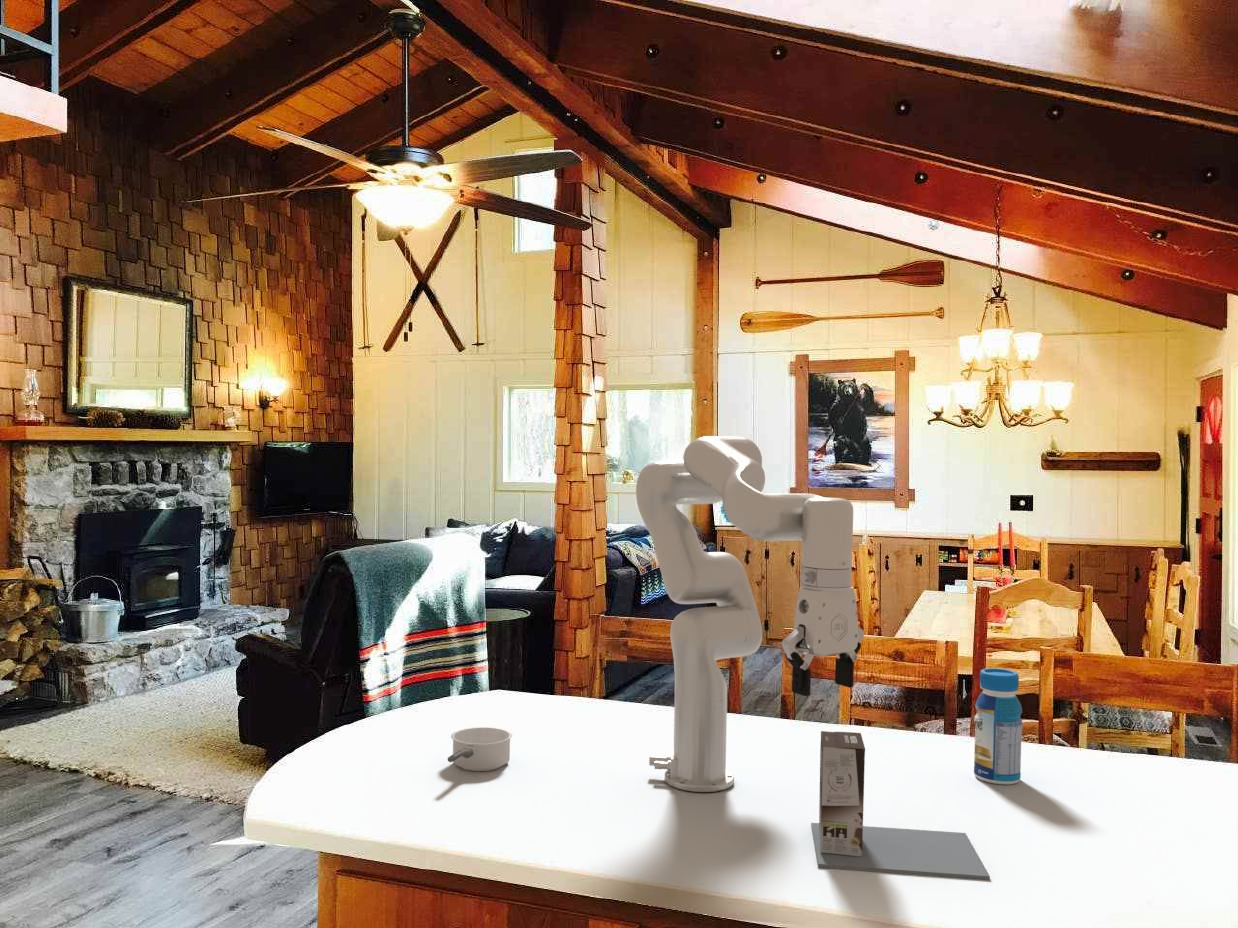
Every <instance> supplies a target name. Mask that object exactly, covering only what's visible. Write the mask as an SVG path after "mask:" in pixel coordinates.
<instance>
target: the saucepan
mask: <svg viewBox="0 0 1238 928" xmlns="http://www.w3.org/2000/svg"><path fill="white" fill-rule="evenodd" d="M450 737H451V739H452V754H451V755H449V756H448V757H447V762H449V763H453V764H454V765H456V766H458V767H460V768H461V769H463V770H466V771H473V772H486V771H493V770H496V769H499V768H501V767H503V766H504V765H506V764H507V763H509V762H510V760H511V757H510V754H511V753H510V752H511V751H510V749H511V748H510V747H511V738H512V737H513V734H512V732H510V731H509V730H507V729H503V728H500V727H494V726H493V727H492V726H491V727H490V726H479V727H478V726H475V727H468V728H463V729H459V730H457V731H455V732H453V733H452V734H451V736H450Z"/></svg>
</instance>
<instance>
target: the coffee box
mask: <svg viewBox="0 0 1238 928" xmlns="http://www.w3.org/2000/svg"><path fill="white" fill-rule="evenodd" d="M819 753H820V761H819V801H818V802H819V810H818V815H819V817H818V818H819V819H818V821H819V837H820V852H821V853H830V854H840V855H849V856H858V857H860V856H862V838H863V826H864V802H865V801H864V798H865V797H864V796H865V766H866V765H865V763H866V762H865V759H866V758H865V756H866V747H865V743H864V741H863V735H862V733H861V732H852V731H851V732H849V731H827V730H825V731H823V730H821V731H820V752H819Z"/></svg>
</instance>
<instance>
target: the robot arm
mask: <svg viewBox="0 0 1238 928" xmlns="http://www.w3.org/2000/svg"><path fill="white" fill-rule="evenodd" d="M682 456H683V457H682V458H683V459H664V460H657V461H654V462H651V463H648V464H647V465H645V466H644V467H643V468H642V469H641V470H640V472H639V474H638V477H637V480H636V485H635V495H636V496H635V498H636V499H635V500H636V504H637V507H638V511H639V514H640V517H641V519H642V520H643V523H644V525H645V527H646V530H647V531H648V533H649V535H650V537H651V540H652V543H653V547H654V552H655V555H656V558H657V562H658V567H659V570H660V573H661V574H660V575H661V577H662V580H663V585H664V588H665V592H666V593H667V595H668V598H669V599H670V600H671V601H673V602H674V603H676V604H679V605H697V604H699V605H700V604H711V603H713V604H716V605H717V606H716V605H715V606H704V607H694V608H689V609H686V610H683V611H681V612H680V613H679V614H677V615H676V616H675V617H674V619H673V620H672V621H671V624H670V630H669V637H670V644H671V650H672V657H673V666H674V667H673V668H674V708H673V709H674V712H673V713H674V717H673V721H674V723H673V750H672V753H671V754H668V753H667V754H666V756H664V755H663V756H662V755H659V754H658V755H657V754H650V755H649V764H648V765H649V766H650V767H654V770H665V772H664V781H665V782H666V784H668V785H669V786H671V787H673V788H675V789H679V790H681V791H687V792H693V793H694V792H695V793H696V792H697V793H712V792H713V793H714V792H720V791H725V790H726V789H729V788H731V787H732V786H733V785H734V783H735V782H734V781H735V775H734V774H733V773H732V772H731V771H730V770H728V769H727V768H726V767H727V765H726V762H727V724H728V723H727V718H728V717H727V713H728V712H727V711H728V709H727V708H728V686H727V682H726V678H725V676H724V674H723V673H722V670H721V669H720V667H719V666H718V663H717V661H719V660H725V659H732V658H741V657H747V656H751V655H752V654H754V653H756V652H757V651H758V650H759V648H760V647H761V644H762V641H763V627H762V621H761V618H760V614H759V610H758V607H757V605H756V604H757V603H756V600H755V598H754V594H753V591H752V588H751V585H750V582H749V581H750V580H749V578H748V575H747V572H746V570H745V567H744V566H743V563H742V562H741V561H740V560H739V558H737V557H736V556H735V555H734V554H732V553H730V552H725V551H709V552H707V551H705V550H703V548H702V546H701V542H700V540H699V537H698V533H697V530H696V528H695V527H694V525H693V523H692V522H691V521H690V519H689V518H688V517H687V516H686V515H685V514H684V513H683V512H682V511H680V509H678V508H677V505H713V504H718V503H720V502H722V507H723V511H724V514H725V516H726V518H727V520H728V521H729V522H730V524H732V525H733V526H734V527H735V528H737V529H738V530H739V531H741V532H742V533H744V534H745V535H747V536H748V537H750V538H752V539H753V540H754V539H755V540H756V541H760V542H783V541H784V542H785V541H787V542H789V541H793V542H794V541H801V542H802V543H801V545H802V546H801V568H800V569H801V570H800V571H801V572H800V575H799V580H800V587H799V590H798V593H797V598H796V605H795V611H794V622H793V631H792V632H790V633H789V634H788V635H787V636H785V638H784V639H783V640H782V641H781V645H782V648H783V651H784V655H785V656H784V657H785V659H786V660H787V661H788V662H789V664H788V665H789V666H790V667H792V670H791V672H792V673H791V674H792V675H791V692H792V693H794V694H797V695H800V696H804V697H809V696H810V695H811V683H812V679H811V677H812V671H811V668H810V669H809V666H810V665H811V663H812V661H813V659H814V657H819V658H820V657H821V658H823V657H829V656H830V657H831V656H836V655H837V656H838V657H837V658H836V657H835V662H834V663H835V664H834V666H835V668H834V671H835V672H834V683H835V684H836V685H839V686H841V687H846V688H853V687H854V679H855V677H854V675H855V674H854V673H855V671H854V669H855V662H856V661H857V659H858V655H857V654H858V653H859V651H860V650H861V647H862V645H861V644H862V641H863V639H864V635H865V631H864V629H863V628H861V627H859V620H858V619H859V618H858V617H859V616H858V605H857V597H856V592H855V591H856V590H855V587H853V586H852V572H853V571H852V569H853V568H852V567H853V566H852V565H853V534H854V506H853V503H852V502H851V501H850V500H848V499H846V498H842V497H824V496H821V495H818V494H815V493H805V492H804V493H801V492H800V493H790V492H789V493H783V492H782V493H778V492H777V493H775V492H774V493H773V492H772V493H766V492H765V493H764V492H762V491H763V490H764V488H765V484H766V474H765V471H764V469H763V457H762V453H761V450H760V449H759V447H758V445H757V444H756V443H755V442H754V441H752V440H751V439H749V438H748V437H747V438H746V437H743V436H741V437H740V436H721V435H720V436H716V435H715V436H714V435H711V436H710V435H709V436H708V435H706V436H702V437H698V438H695V439H694V440H692V441H691V442H690V443H689V444H688V445H687V446H686V448H685V450H684V451H683V455H682ZM803 655H804V657H803V658H802V656H803Z"/></svg>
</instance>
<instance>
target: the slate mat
mask: <svg viewBox="0 0 1238 928" xmlns="http://www.w3.org/2000/svg"><path fill="white" fill-rule="evenodd" d="M810 826H811V828H810V829H811V833H812V834H811V835H812V840H813V846H814V850H815V851H814V852H815V856H816V864H817V868H820V869H821V868H823V869H834V870H848V871H849V870H851V871H861V872H862V871H864V872H877V873H878V872H879V873H892V874H902V875H903V874H906V875H915V876H916V875H918V876H933V877H944V878H945V877H946V878H958V879H970V880H971V879H973V880H988V881H990V880H991V875H990V873H989V872H988V870H987V869H986V867H985V865H984V863H983V861H982V860H981V858H980V856H979V855H978V853H977V851H976V849H975V847H974V846H973V844H972V842H971V839H969V837H968V835H967V833H966V832H959V831H958V832H955V831H945V830H944V831H941V830H929V829H927V830H924V829H909V828H897V827H882V826H881V827H880V826H869V825H867V826H866V825H863V838H862V856H860V857H858V856H849V855H840V854H830V853H821V852H820V837H819V823H818V822H811V823H810Z"/></svg>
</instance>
